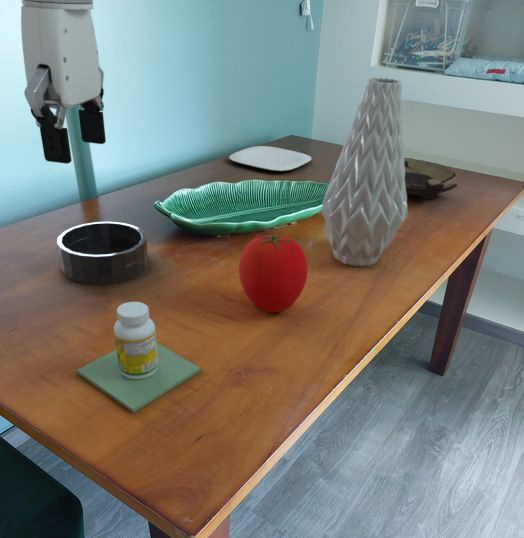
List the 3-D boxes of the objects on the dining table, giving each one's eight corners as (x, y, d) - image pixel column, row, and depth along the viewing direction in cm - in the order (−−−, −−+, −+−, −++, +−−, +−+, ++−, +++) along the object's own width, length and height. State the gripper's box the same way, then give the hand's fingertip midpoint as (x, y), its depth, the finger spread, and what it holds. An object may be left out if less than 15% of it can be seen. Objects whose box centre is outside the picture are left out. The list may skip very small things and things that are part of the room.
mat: (133, 413, 68) (133, 409, 67) (76, 373, 74) (76, 369, 73) (200, 371, 75) (200, 367, 75) (144, 338, 81) (144, 335, 81)
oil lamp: (453, 182, 155) (460, 155, 151) (453, 217, 131) (461, 186, 127) (377, 171, 160) (381, 145, 155) (363, 203, 136) (368, 173, 131)
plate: (283, 178, 149) (284, 172, 148) (220, 163, 158) (220, 157, 157) (318, 161, 165) (319, 156, 164) (258, 148, 174) (259, 143, 173)
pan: (96, 294, 92) (92, 265, 88) (45, 265, 99) (39, 237, 96) (165, 265, 102) (163, 238, 99) (113, 241, 109) (110, 215, 106)
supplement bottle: (156, 380, 72) (151, 320, 67) (116, 380, 72) (107, 320, 66) (159, 357, 77) (155, 299, 71) (121, 357, 76) (114, 298, 71)
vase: (399, 281, 102) (441, 92, 83) (312, 270, 103) (334, 83, 85) (395, 245, 115) (431, 77, 96) (319, 236, 117) (339, 69, 98)
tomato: (316, 312, 91) (326, 241, 83) (267, 331, 85) (272, 258, 77) (274, 285, 98) (279, 218, 90) (226, 302, 92) (227, 231, 84)
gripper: (62, -12, 66) (80, 133, 76) (-24, -11, 52) (12, 166, 62) (120, -7, 65) (130, 139, 75) (48, -5, 51) (73, 174, 61)
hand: (77, 151), depth 69 cm, fingers open, 9 cm apart
